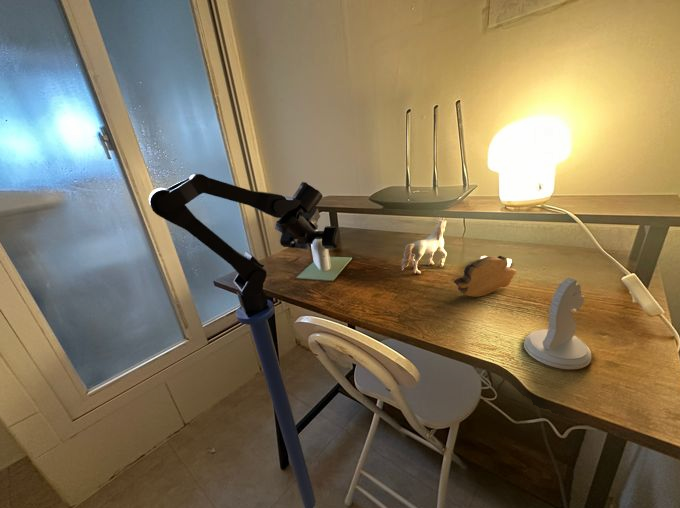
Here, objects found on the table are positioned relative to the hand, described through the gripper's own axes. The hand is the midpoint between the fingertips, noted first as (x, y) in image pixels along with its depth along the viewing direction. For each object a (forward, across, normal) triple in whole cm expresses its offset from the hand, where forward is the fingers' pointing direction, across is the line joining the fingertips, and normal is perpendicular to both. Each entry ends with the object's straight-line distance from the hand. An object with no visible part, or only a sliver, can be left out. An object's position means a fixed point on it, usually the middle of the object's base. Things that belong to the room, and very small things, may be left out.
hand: (320, 248), depth 98 cm
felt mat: (+7, 0, +4) cm, 8 cm away
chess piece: (-13, -60, +25) cm, 66 cm away
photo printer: (+7, +2, +4) cm, 8 cm away
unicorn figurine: (+11, -31, 0) cm, 33 cm away
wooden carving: (0, -48, +11) cm, 49 cm away
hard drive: (+10, -50, +1) cm, 51 cm away
